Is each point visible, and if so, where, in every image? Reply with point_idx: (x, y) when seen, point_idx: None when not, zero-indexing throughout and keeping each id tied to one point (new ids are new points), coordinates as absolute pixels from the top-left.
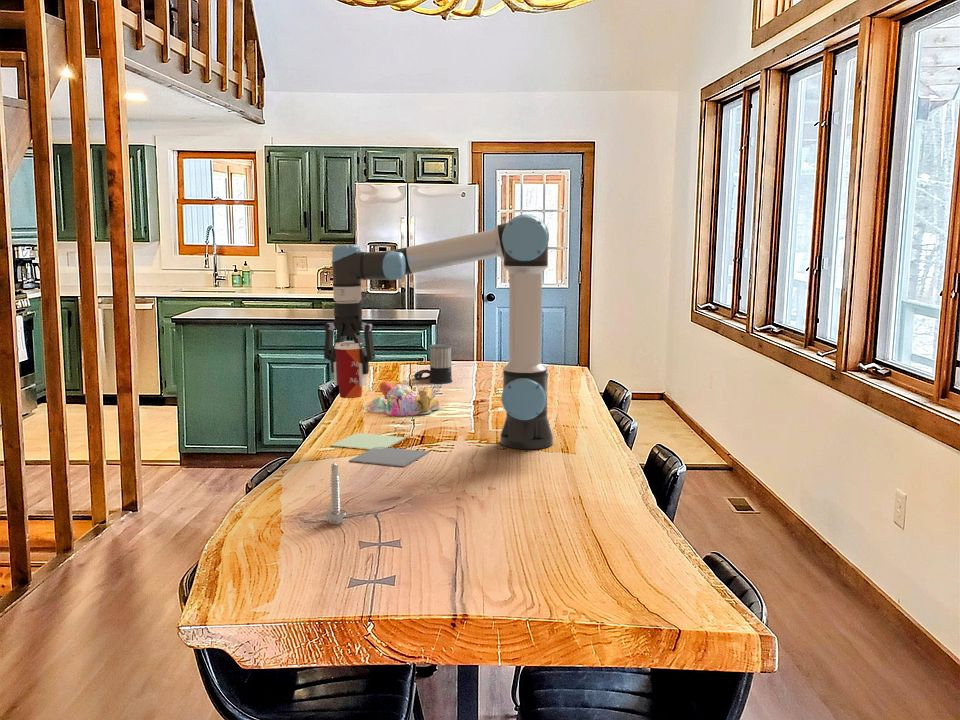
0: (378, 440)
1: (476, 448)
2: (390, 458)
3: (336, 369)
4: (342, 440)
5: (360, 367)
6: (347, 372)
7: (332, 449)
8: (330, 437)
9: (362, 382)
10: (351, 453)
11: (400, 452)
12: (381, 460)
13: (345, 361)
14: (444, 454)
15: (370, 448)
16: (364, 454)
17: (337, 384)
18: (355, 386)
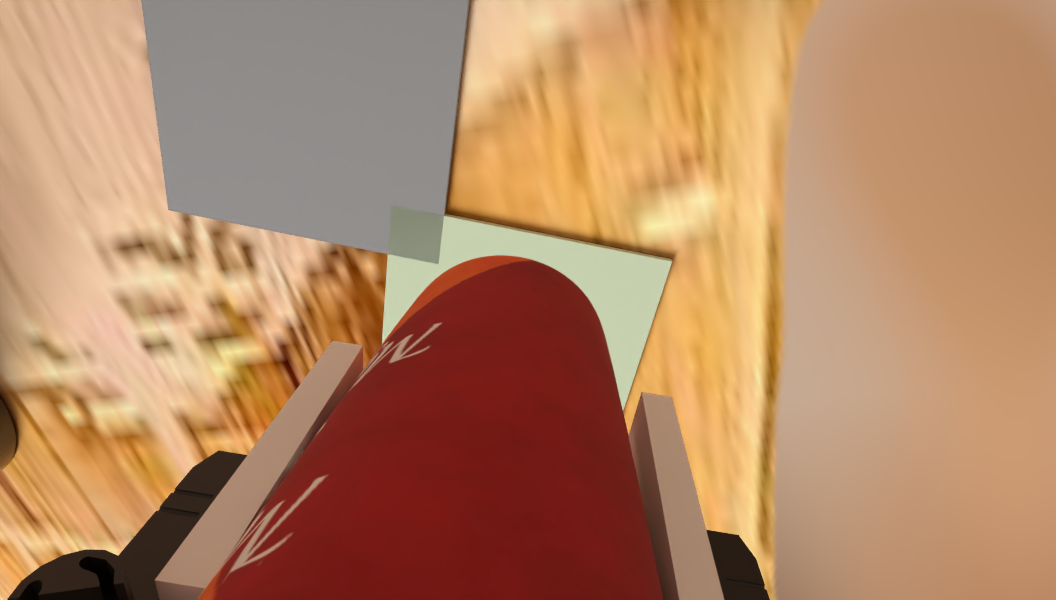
0: None
1: (34, 311)
2: (272, 36)
3: (667, 549)
4: (632, 349)
5: (224, 516)
6: (428, 396)
7: (645, 205)
8: (708, 412)
9: (314, 377)
10: (524, 140)
11: (281, 171)
12: None
13: (397, 548)
14: (95, 193)
15: (451, 224)
16: (437, 98)
17: (638, 410)
18: (397, 326)
